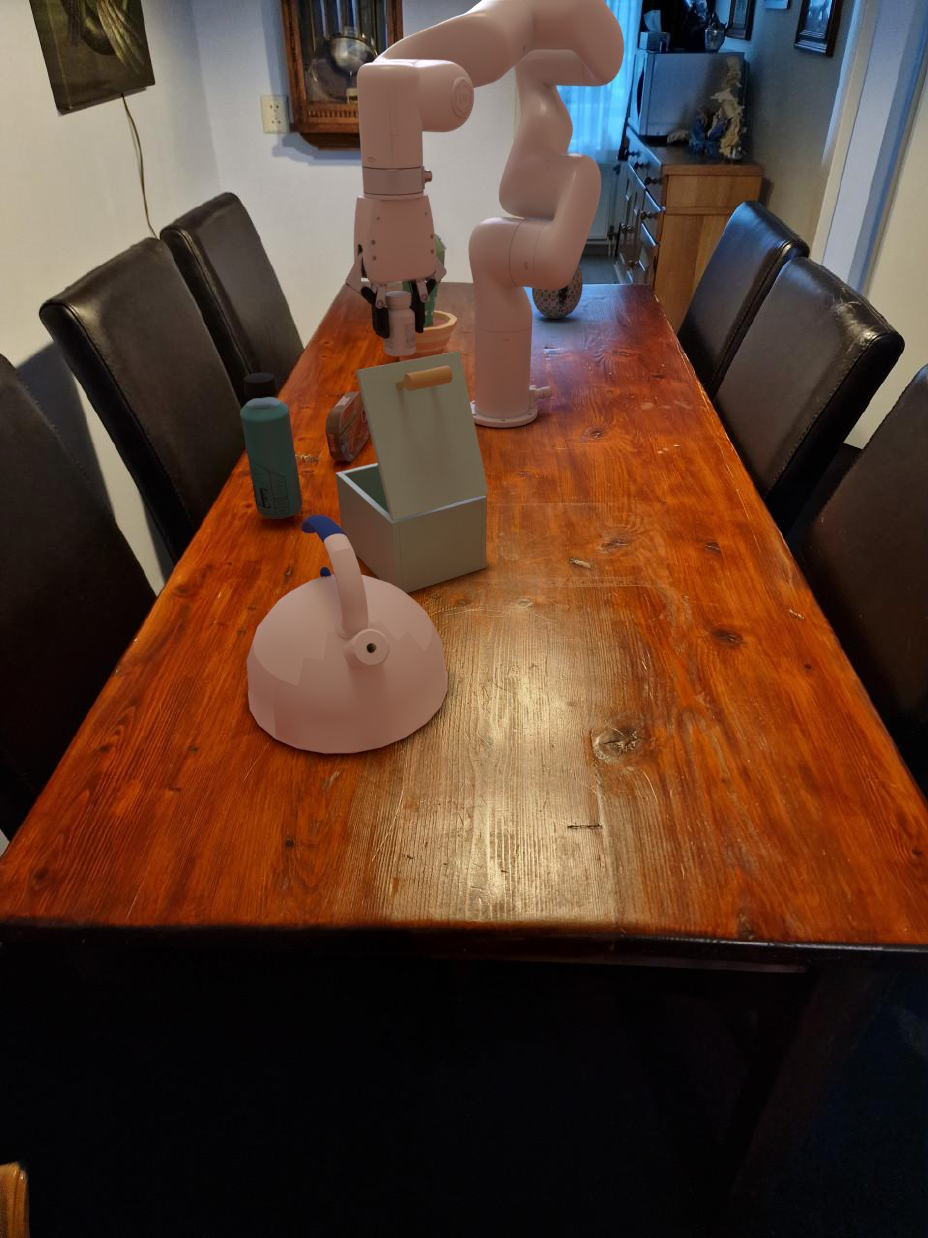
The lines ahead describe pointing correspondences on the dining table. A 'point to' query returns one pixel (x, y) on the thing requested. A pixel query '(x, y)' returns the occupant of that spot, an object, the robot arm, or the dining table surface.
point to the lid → (423, 433)
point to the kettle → (344, 659)
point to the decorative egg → (559, 298)
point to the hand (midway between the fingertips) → (399, 332)
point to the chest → (410, 534)
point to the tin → (347, 427)
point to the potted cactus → (432, 320)
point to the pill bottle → (400, 324)
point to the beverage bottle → (270, 449)
